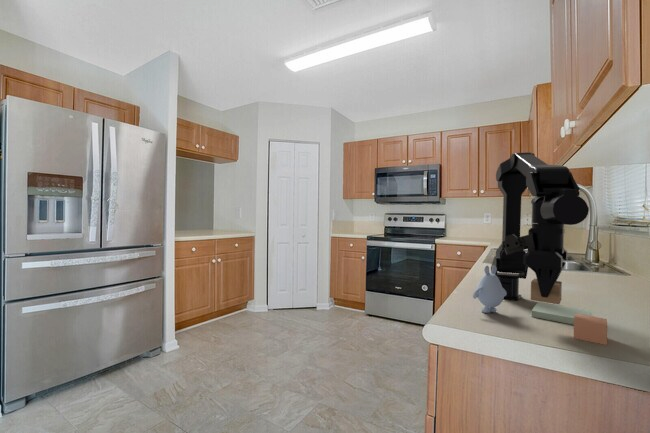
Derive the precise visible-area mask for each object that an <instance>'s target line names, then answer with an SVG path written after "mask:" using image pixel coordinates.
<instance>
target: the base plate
mask: <svg viewBox="0 0 650 433" xmlns="http://www.w3.org/2000/svg"><path fill="white" fill-rule="evenodd" d="M575 314H581V315H587V316H592V310H591V309H585V308H579V307H573V306H566V305H560V304H553V303H547V302H541V301H537V303H536V304H535V305H534V306H533V307H532V309H531V317H532V318H537V319H543V320H547V321H553V322H557V323H563V324H568V325H573V326H574V317H575Z"/></svg>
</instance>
